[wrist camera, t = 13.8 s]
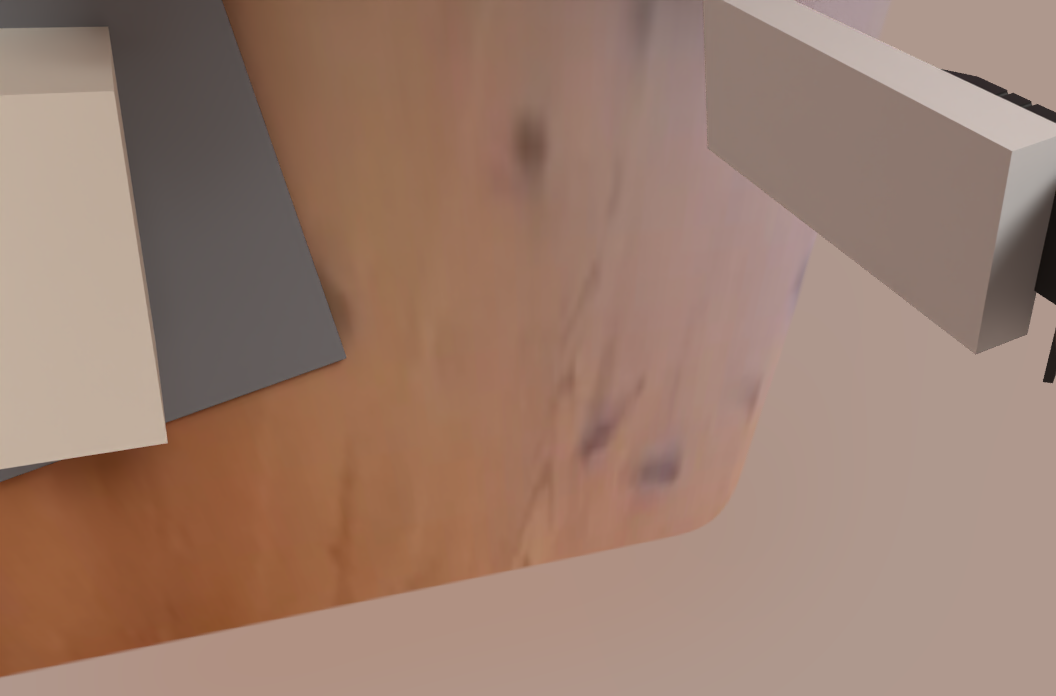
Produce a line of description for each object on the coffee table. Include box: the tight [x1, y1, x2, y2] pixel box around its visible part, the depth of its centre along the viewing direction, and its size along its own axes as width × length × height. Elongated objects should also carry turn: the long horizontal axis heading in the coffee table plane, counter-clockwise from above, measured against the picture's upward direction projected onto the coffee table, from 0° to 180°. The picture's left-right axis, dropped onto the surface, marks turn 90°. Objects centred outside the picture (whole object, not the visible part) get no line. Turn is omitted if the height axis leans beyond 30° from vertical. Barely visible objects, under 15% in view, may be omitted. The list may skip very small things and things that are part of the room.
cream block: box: [0, 27, 168, 469], centre depth 37 cm, size 6×14×8 cm, turn 174°
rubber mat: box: [0, 0, 346, 482], centre depth 40 cm, size 24×18×1 cm
